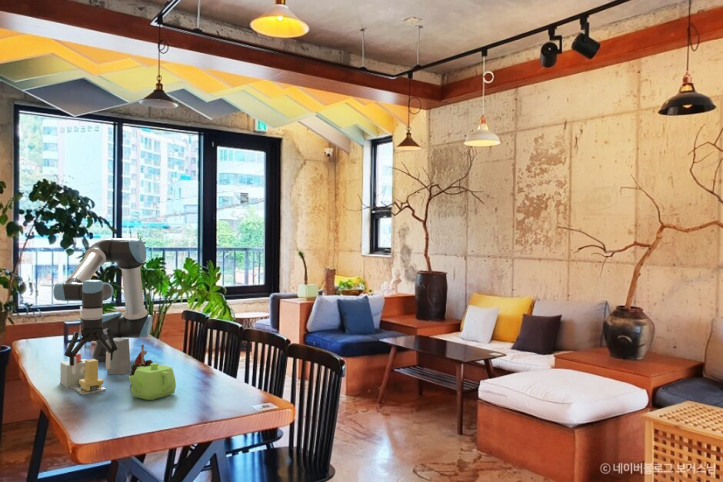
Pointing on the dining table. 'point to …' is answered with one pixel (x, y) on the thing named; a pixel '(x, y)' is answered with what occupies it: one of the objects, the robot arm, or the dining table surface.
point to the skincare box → (120, 357)
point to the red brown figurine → (140, 361)
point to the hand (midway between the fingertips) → (91, 370)
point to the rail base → (82, 391)
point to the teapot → (152, 381)
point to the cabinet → (68, 376)
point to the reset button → (78, 358)
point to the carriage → (91, 375)
